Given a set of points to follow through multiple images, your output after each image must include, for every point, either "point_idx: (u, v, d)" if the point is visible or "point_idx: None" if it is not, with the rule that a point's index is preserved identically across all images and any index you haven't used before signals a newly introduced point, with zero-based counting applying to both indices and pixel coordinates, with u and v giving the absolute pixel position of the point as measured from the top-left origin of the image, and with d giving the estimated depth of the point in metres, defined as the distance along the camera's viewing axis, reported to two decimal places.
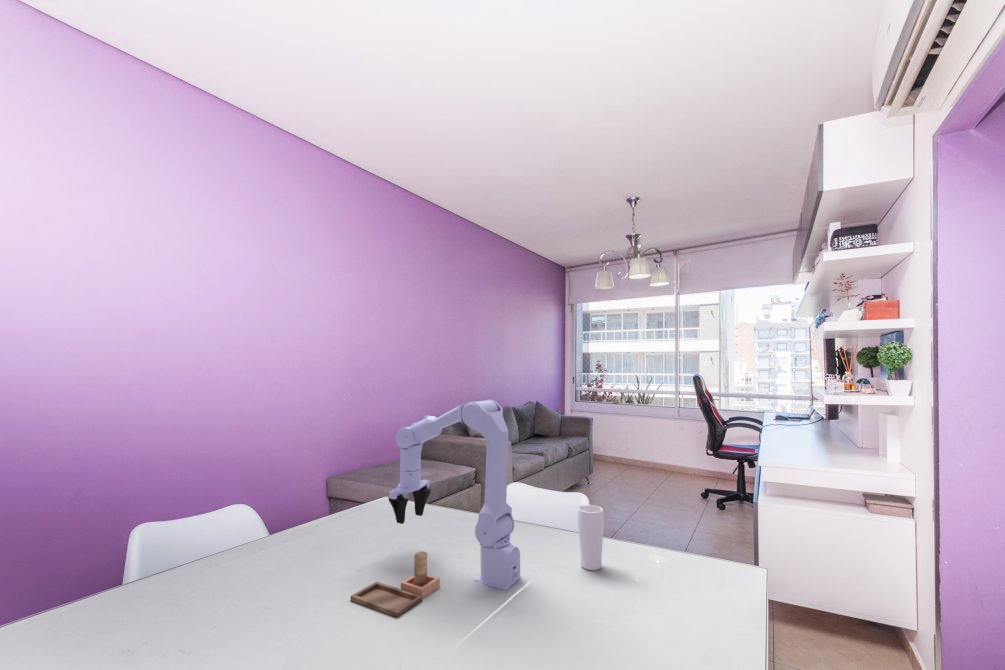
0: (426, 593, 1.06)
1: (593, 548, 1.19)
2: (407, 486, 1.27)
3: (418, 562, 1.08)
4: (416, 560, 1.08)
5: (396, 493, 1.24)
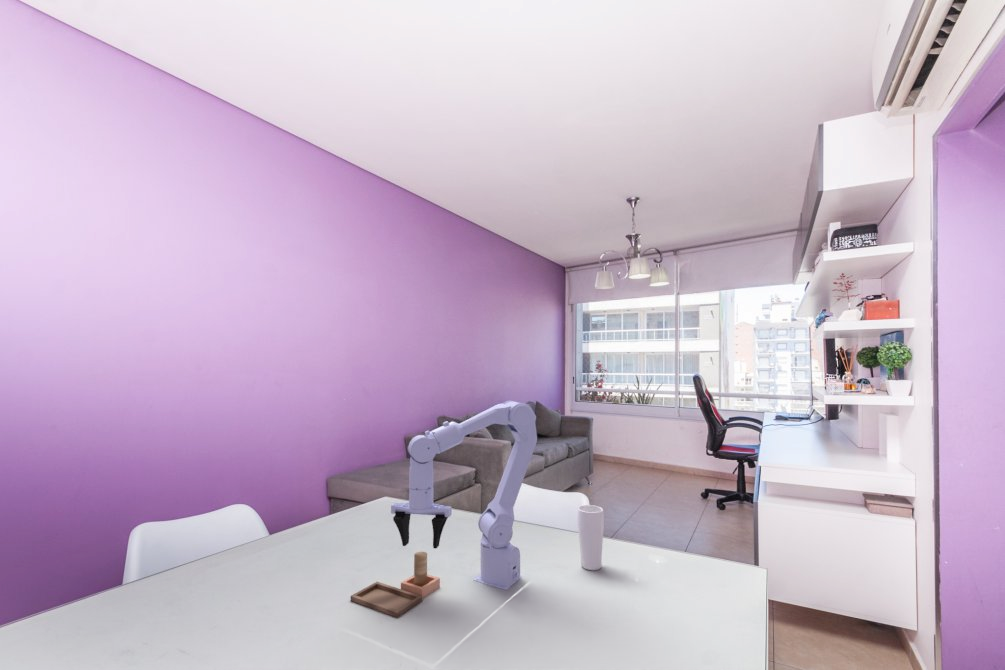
0: (426, 593, 1.06)
1: (593, 548, 1.19)
2: (409, 505, 1.10)
3: (418, 562, 1.08)
4: (416, 560, 1.08)
5: (393, 507, 1.11)
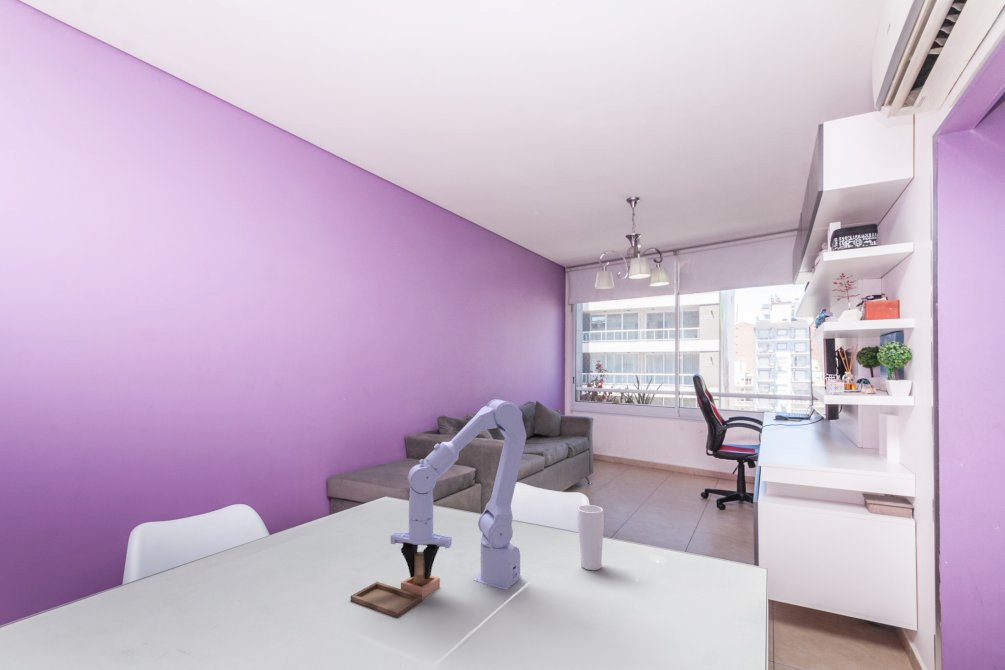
0: (426, 593, 1.06)
1: (593, 548, 1.19)
2: (408, 535, 1.09)
3: (418, 562, 1.08)
4: (416, 560, 1.08)
5: (393, 538, 1.10)
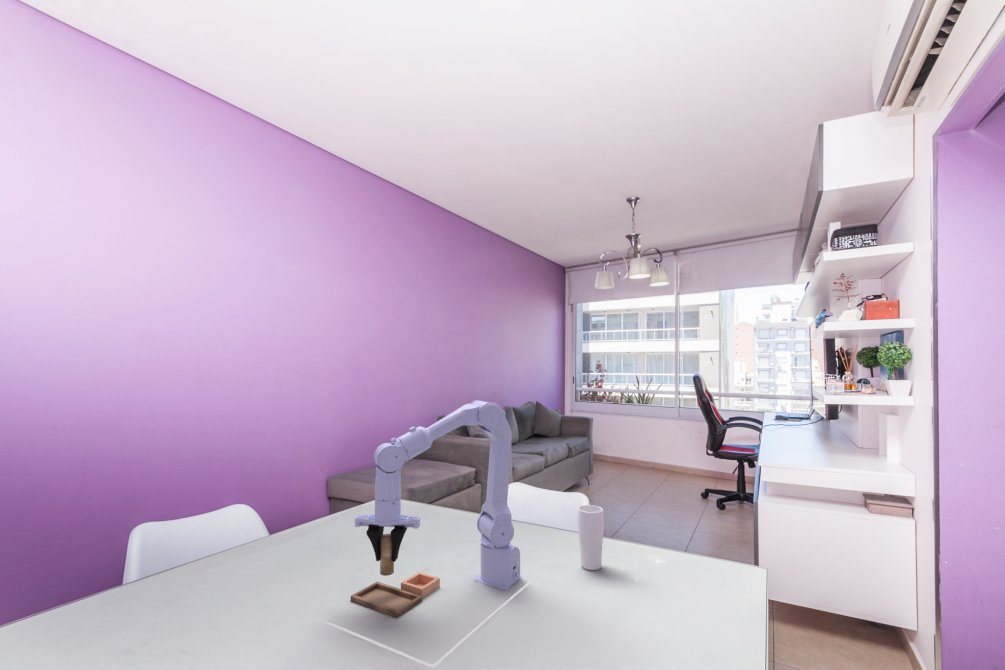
0: (426, 593, 1.06)
1: (593, 548, 1.19)
2: (374, 517, 1.04)
3: (385, 544, 1.03)
4: (382, 542, 1.03)
5: (357, 520, 1.04)
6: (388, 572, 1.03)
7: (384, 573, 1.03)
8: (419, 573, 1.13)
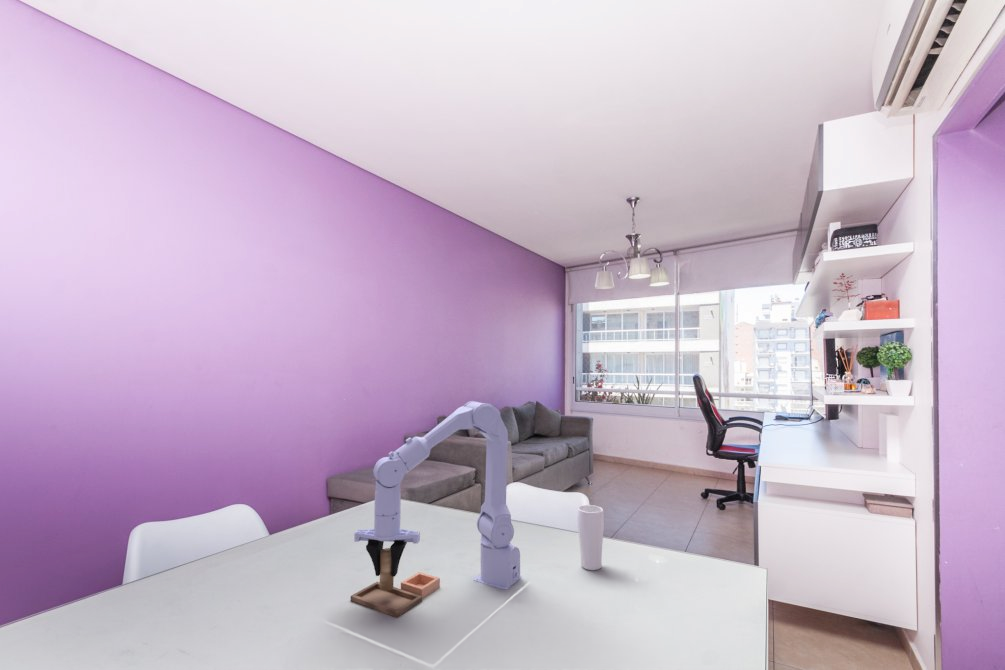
0: (426, 593, 1.06)
1: (593, 548, 1.19)
2: (374, 532, 1.04)
3: (385, 559, 1.03)
4: (381, 557, 1.03)
5: (357, 535, 1.04)
6: (388, 587, 1.03)
7: (384, 588, 1.02)
8: (419, 573, 1.13)
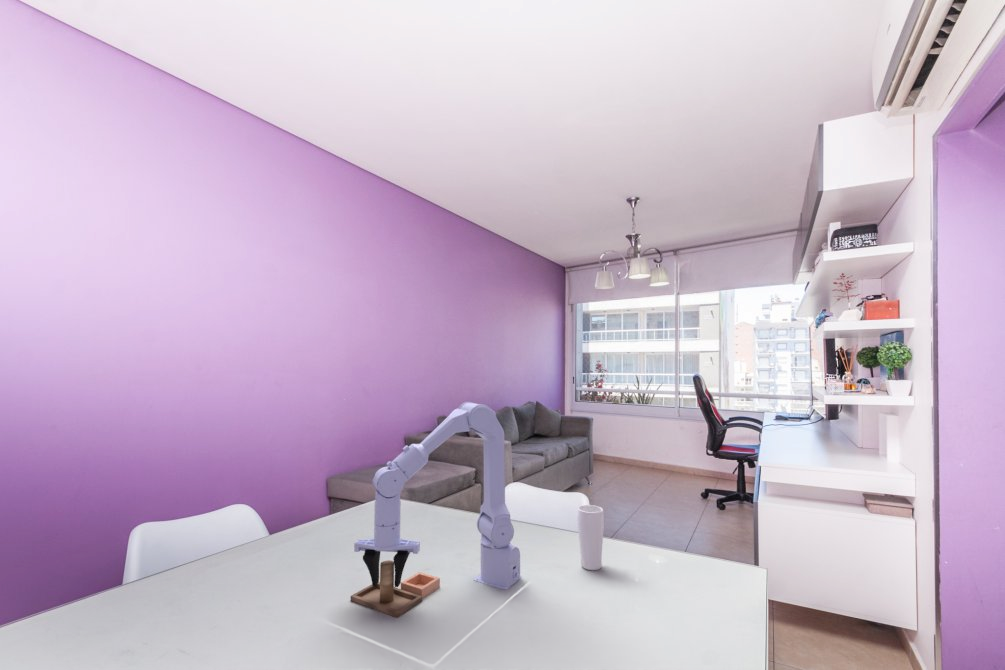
0: (426, 593, 1.06)
1: (593, 548, 1.19)
2: (374, 542, 1.03)
3: (385, 572, 1.03)
4: (382, 570, 1.03)
5: (357, 545, 1.04)
6: (388, 600, 1.02)
7: (384, 601, 1.02)
8: (419, 573, 1.13)
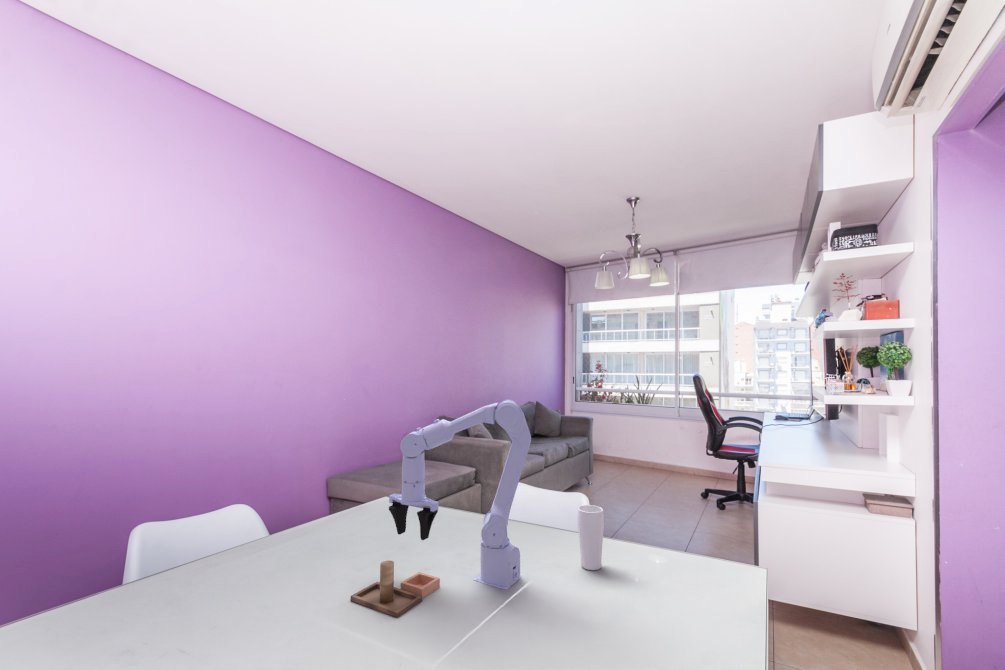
0: (426, 593, 1.06)
1: (593, 548, 1.19)
2: None
3: (385, 572, 1.03)
4: (382, 570, 1.03)
5: (391, 497, 1.19)
6: (388, 600, 1.02)
7: (384, 601, 1.02)
8: (419, 573, 1.13)
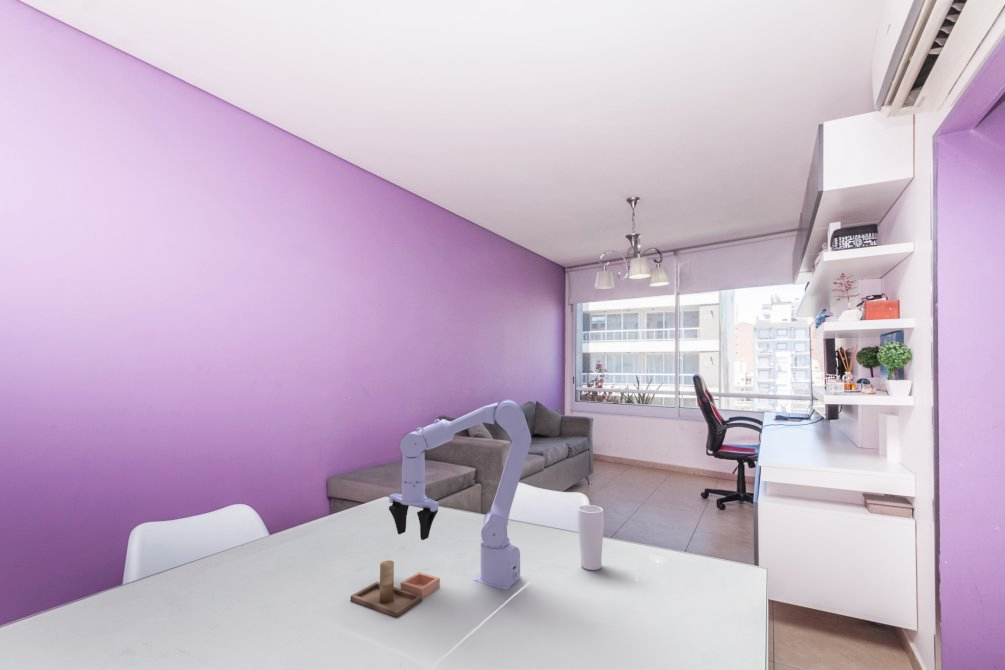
0: (426, 593, 1.06)
1: (593, 548, 1.19)
2: None
3: (385, 572, 1.03)
4: (381, 570, 1.03)
5: (391, 497, 1.19)
6: (388, 600, 1.02)
7: (384, 601, 1.02)
8: (419, 573, 1.13)
